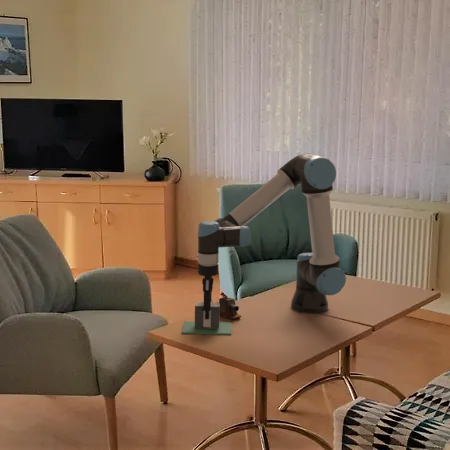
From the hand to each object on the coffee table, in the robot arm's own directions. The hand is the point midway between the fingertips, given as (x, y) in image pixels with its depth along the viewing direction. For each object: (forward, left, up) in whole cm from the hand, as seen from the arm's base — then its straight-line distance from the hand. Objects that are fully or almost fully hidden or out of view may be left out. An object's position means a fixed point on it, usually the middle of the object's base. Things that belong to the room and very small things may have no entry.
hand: (207, 324), depth 254 cm
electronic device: (-8, -14, -2) cm, 16 cm away
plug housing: (0, 0, 0) cm, 0 cm away
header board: (0, 0, -2) cm, 2 cm away
